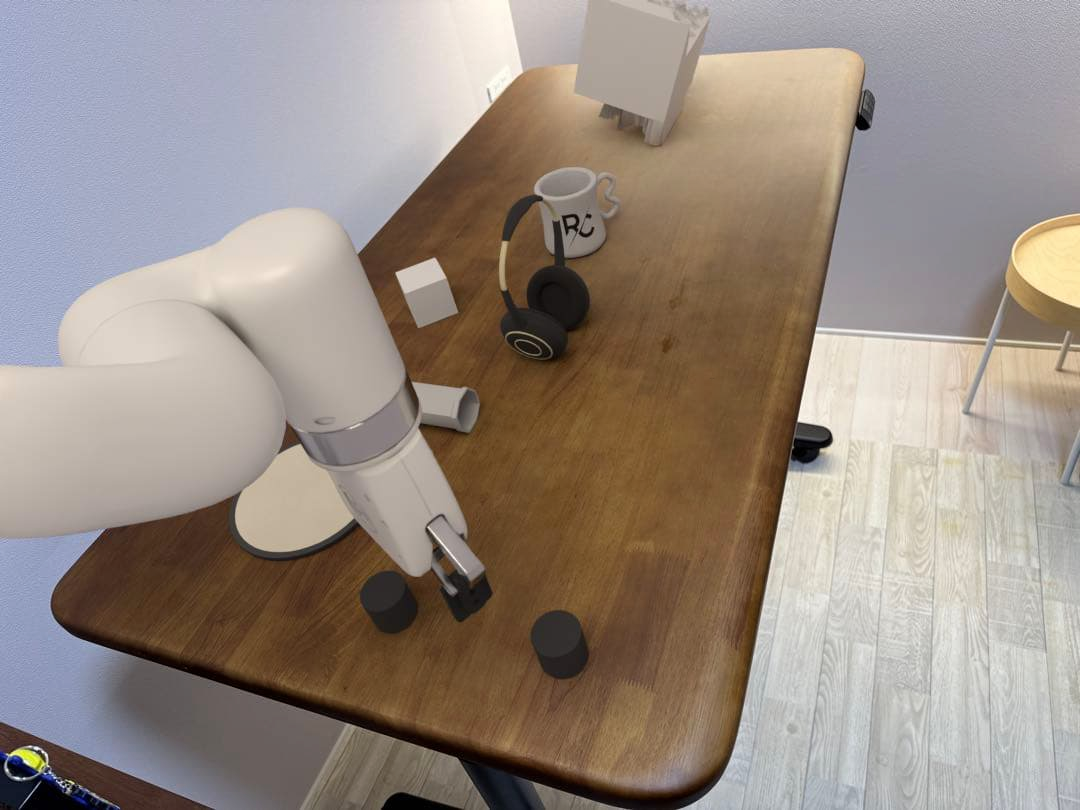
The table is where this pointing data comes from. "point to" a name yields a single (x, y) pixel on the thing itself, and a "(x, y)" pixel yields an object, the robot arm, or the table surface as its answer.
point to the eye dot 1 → (388, 601)
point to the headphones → (542, 296)
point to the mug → (575, 208)
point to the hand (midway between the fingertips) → (436, 568)
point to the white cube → (427, 292)
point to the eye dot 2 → (559, 644)
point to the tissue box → (640, 61)
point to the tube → (448, 406)
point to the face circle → (290, 510)
